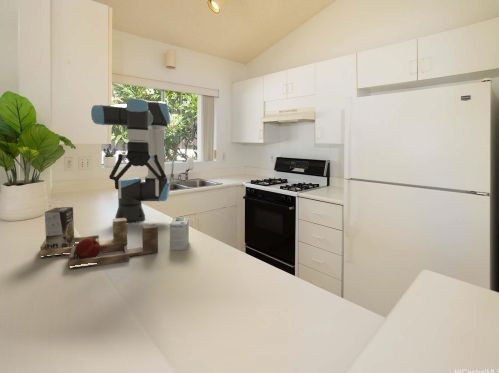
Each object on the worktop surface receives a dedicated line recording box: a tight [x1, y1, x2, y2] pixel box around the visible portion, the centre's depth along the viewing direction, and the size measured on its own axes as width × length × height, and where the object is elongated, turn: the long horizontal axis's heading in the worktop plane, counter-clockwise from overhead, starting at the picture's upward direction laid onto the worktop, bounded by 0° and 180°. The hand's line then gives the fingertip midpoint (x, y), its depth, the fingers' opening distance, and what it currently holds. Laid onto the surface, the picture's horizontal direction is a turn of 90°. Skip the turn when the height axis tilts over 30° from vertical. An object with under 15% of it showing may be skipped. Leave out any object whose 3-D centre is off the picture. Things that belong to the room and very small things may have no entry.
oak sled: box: [39, 218, 128, 257], centre depth 110 cm, size 28×13×10 cm, turn 118°
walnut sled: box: [68, 223, 159, 267], centre depth 102 cm, size 28×13×10 cm, turn 118°
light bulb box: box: [169, 217, 190, 251], centre depth 116 cm, size 11×7×11 cm, turn 7°
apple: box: [75, 238, 101, 259], centre depth 98 cm, size 7×8×8 cm
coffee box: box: [44, 206, 76, 250], centre depth 106 cm, size 9×6×16 cm
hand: (139, 196), depth 108 cm, fingers open, 13 cm apart
